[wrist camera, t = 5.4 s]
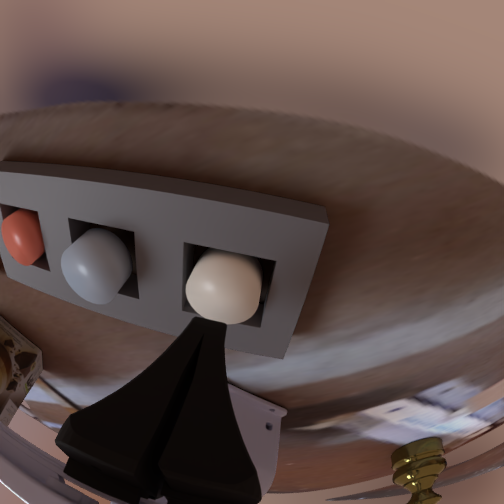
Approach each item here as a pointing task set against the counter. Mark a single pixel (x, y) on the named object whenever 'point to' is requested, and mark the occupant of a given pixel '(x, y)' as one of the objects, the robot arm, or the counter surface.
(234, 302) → the cream button
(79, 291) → the pale blue button
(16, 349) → the coffee box
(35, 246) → the red button
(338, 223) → the counter surface
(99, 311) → the button panel
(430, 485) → the olive tiered finial
